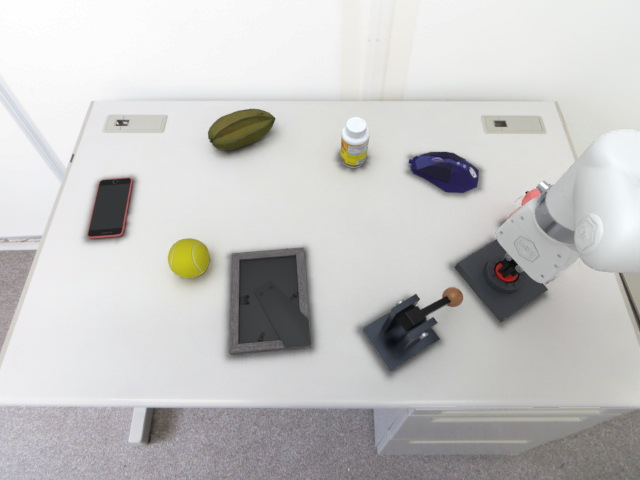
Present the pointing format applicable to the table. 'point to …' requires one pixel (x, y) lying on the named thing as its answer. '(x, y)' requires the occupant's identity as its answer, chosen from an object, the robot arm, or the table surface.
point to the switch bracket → (400, 335)
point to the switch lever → (430, 309)
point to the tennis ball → (188, 258)
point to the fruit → (240, 129)
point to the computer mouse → (446, 171)
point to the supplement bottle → (354, 142)
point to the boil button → (507, 279)
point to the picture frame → (268, 301)
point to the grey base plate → (497, 282)
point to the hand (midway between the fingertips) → (507, 270)
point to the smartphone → (110, 208)
